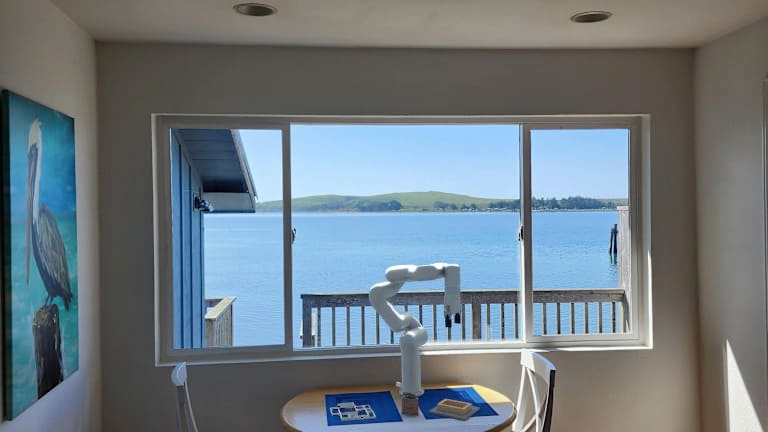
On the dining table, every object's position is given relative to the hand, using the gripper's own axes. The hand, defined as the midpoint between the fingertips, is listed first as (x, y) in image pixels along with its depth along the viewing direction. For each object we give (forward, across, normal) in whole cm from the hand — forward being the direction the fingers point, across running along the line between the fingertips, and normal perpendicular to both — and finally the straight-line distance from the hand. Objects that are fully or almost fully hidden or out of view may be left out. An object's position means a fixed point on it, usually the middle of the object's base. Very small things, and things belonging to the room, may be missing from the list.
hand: (453, 325), depth 282 cm
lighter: (+37, +25, -10) cm, 46 cm away
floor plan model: (+38, +39, -36) cm, 65 cm away
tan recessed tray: (+37, +12, +6) cm, 39 cm away
